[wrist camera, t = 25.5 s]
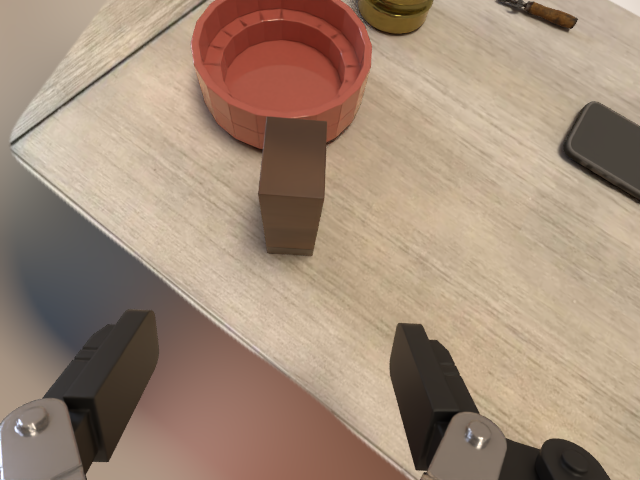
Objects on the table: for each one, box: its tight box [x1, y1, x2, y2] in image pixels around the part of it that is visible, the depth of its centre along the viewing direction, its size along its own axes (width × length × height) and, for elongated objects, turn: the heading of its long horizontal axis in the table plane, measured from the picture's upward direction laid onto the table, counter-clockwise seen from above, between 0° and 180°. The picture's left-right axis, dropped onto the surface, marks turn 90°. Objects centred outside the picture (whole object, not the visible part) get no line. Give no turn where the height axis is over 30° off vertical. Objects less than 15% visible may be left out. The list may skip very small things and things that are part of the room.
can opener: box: [499, 0, 578, 29], centre depth 40 cm, size 9×2×1 cm, turn 59°
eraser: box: [258, 116, 327, 256], centre depth 26 cm, size 5×4×10 cm
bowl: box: [191, 0, 372, 149], centre depth 32 cm, size 14×14×5 cm
